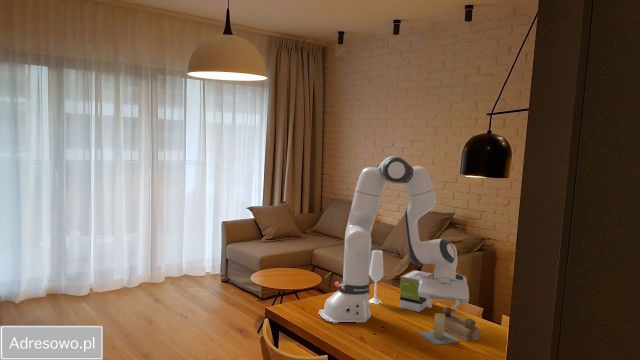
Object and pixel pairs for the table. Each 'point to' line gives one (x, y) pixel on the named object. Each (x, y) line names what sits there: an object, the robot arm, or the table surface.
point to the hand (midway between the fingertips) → (441, 308)
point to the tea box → (412, 291)
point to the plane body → (461, 326)
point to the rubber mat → (436, 341)
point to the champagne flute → (376, 272)
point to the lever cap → (439, 325)
